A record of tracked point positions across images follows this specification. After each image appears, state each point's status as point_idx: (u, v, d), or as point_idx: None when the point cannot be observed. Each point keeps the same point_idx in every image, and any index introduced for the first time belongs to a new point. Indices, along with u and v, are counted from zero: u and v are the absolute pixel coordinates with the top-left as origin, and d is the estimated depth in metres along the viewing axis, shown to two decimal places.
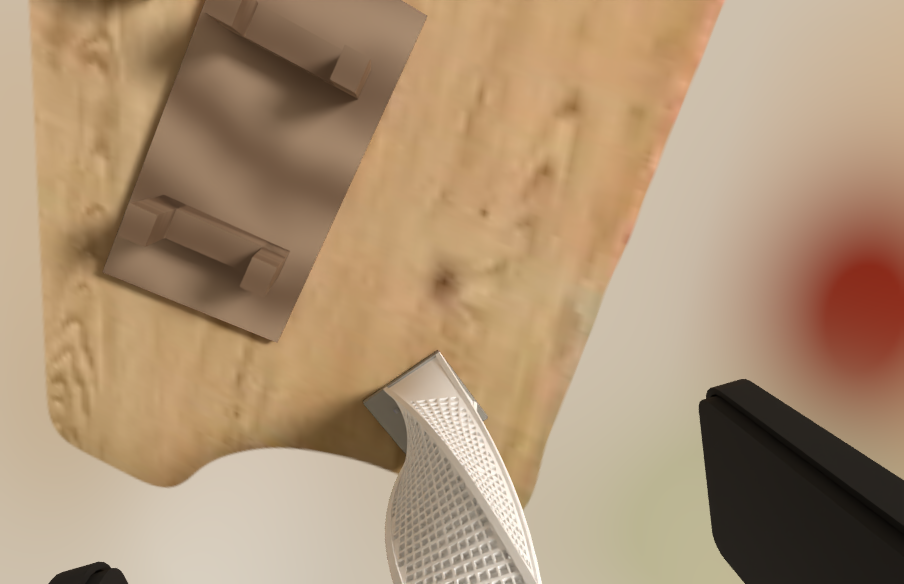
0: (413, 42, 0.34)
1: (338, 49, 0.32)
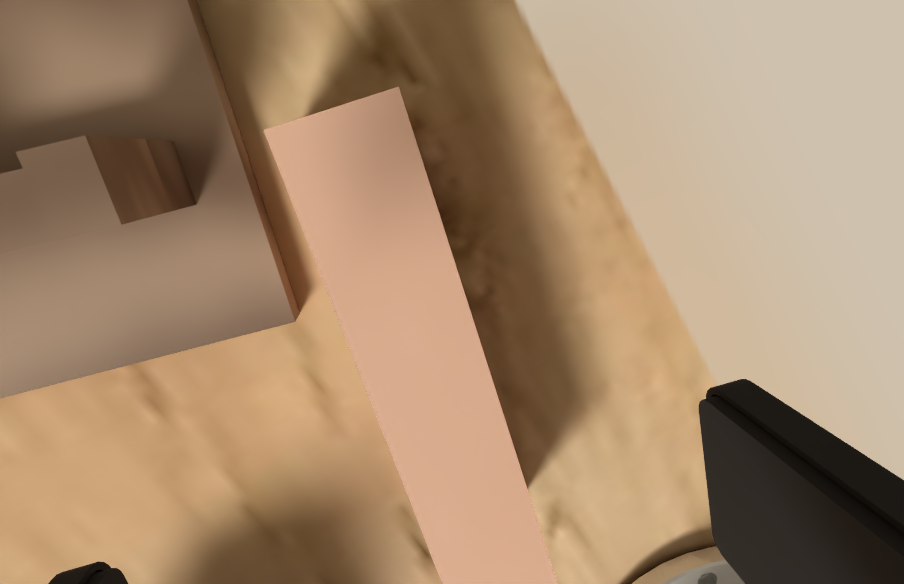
0: None
1: None
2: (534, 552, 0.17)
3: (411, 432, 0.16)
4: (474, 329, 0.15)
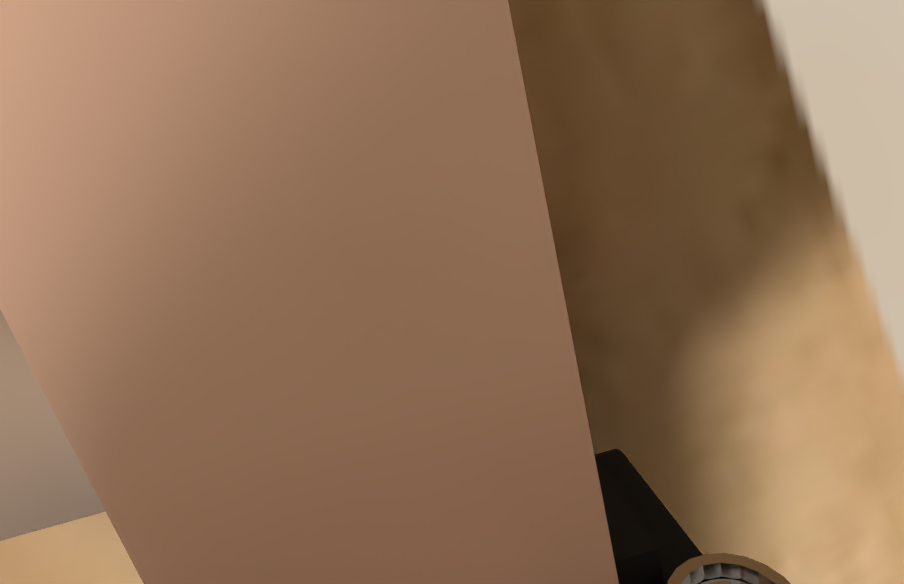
0: None
1: None
2: None
3: None
4: None
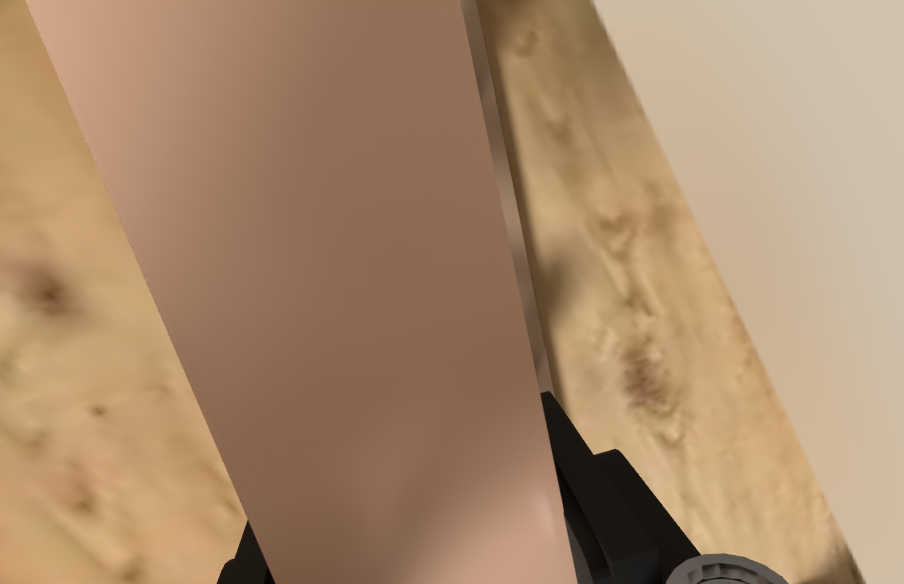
0: None
1: None
2: None
3: None
4: (560, 516, 0.07)
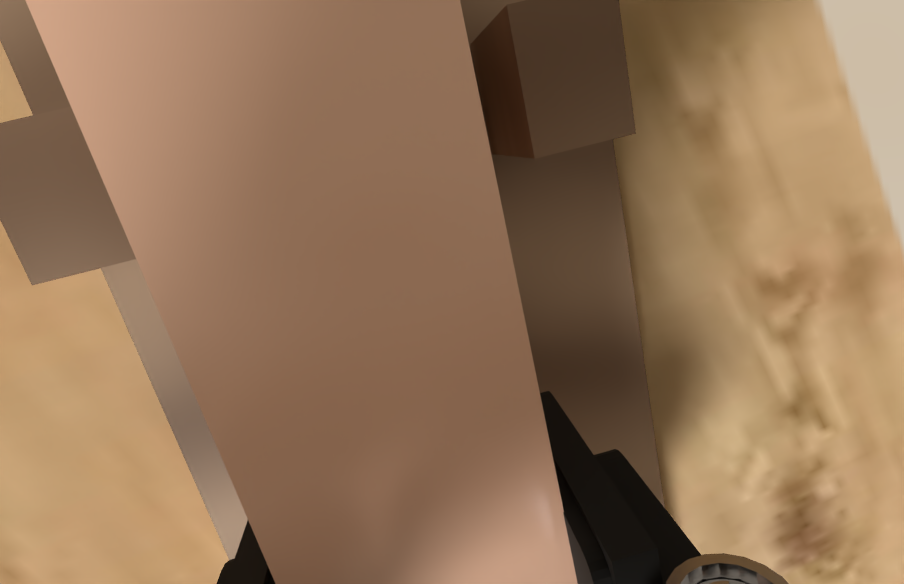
0: None
1: None
2: None
3: None
4: (560, 515, 0.07)
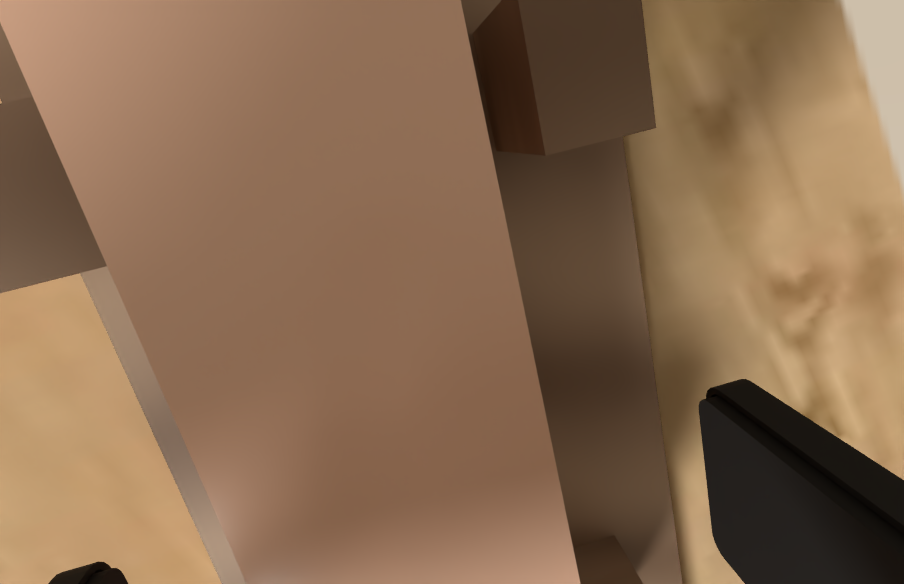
0: None
1: None
2: None
3: None
4: (565, 533, 0.06)
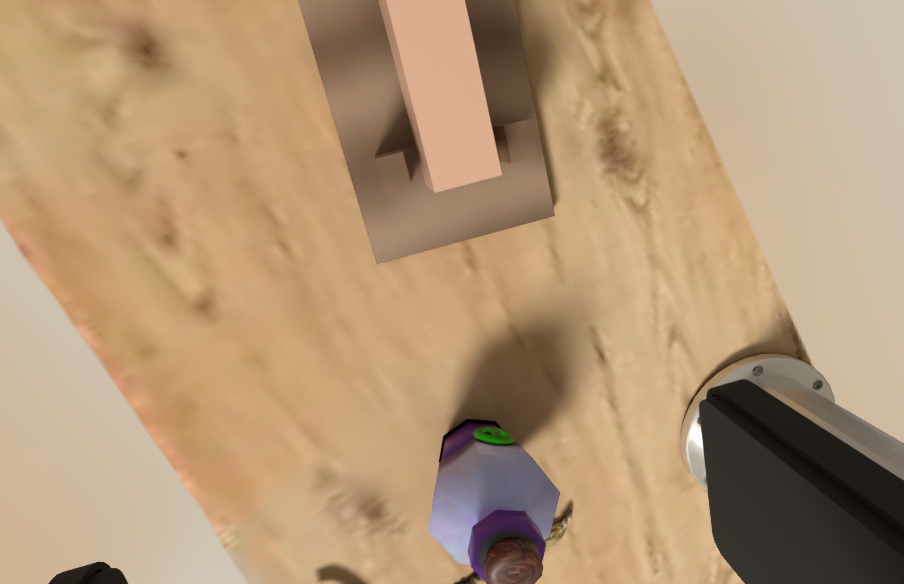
0: (370, 237, 0.34)
1: (418, 180, 0.32)
2: (487, 147, 0.27)
3: (414, 41, 0.25)
4: None
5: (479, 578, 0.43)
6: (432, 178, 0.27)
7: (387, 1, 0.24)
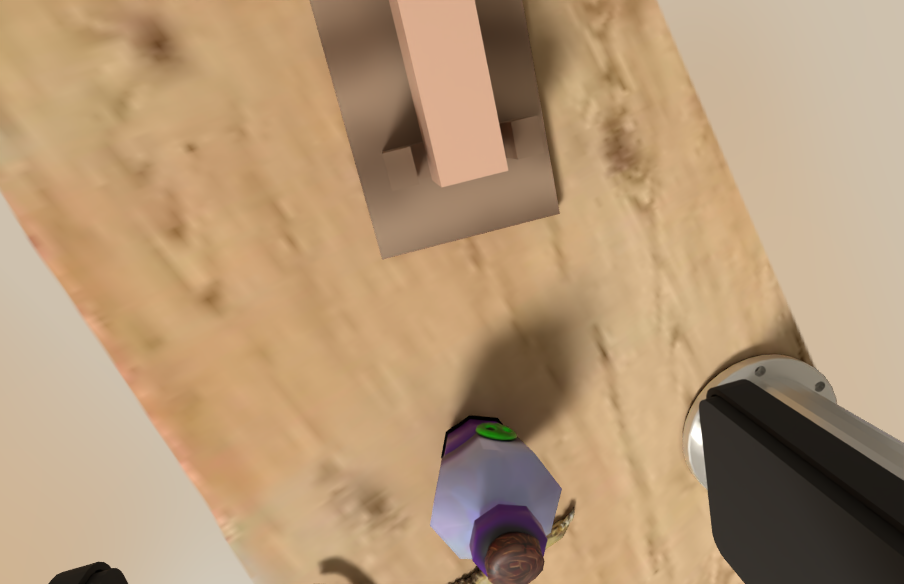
0: (376, 232, 0.34)
1: (424, 176, 0.32)
2: (494, 143, 0.27)
3: (423, 37, 0.25)
4: None
5: (481, 574, 0.43)
6: (439, 173, 0.27)
7: None
